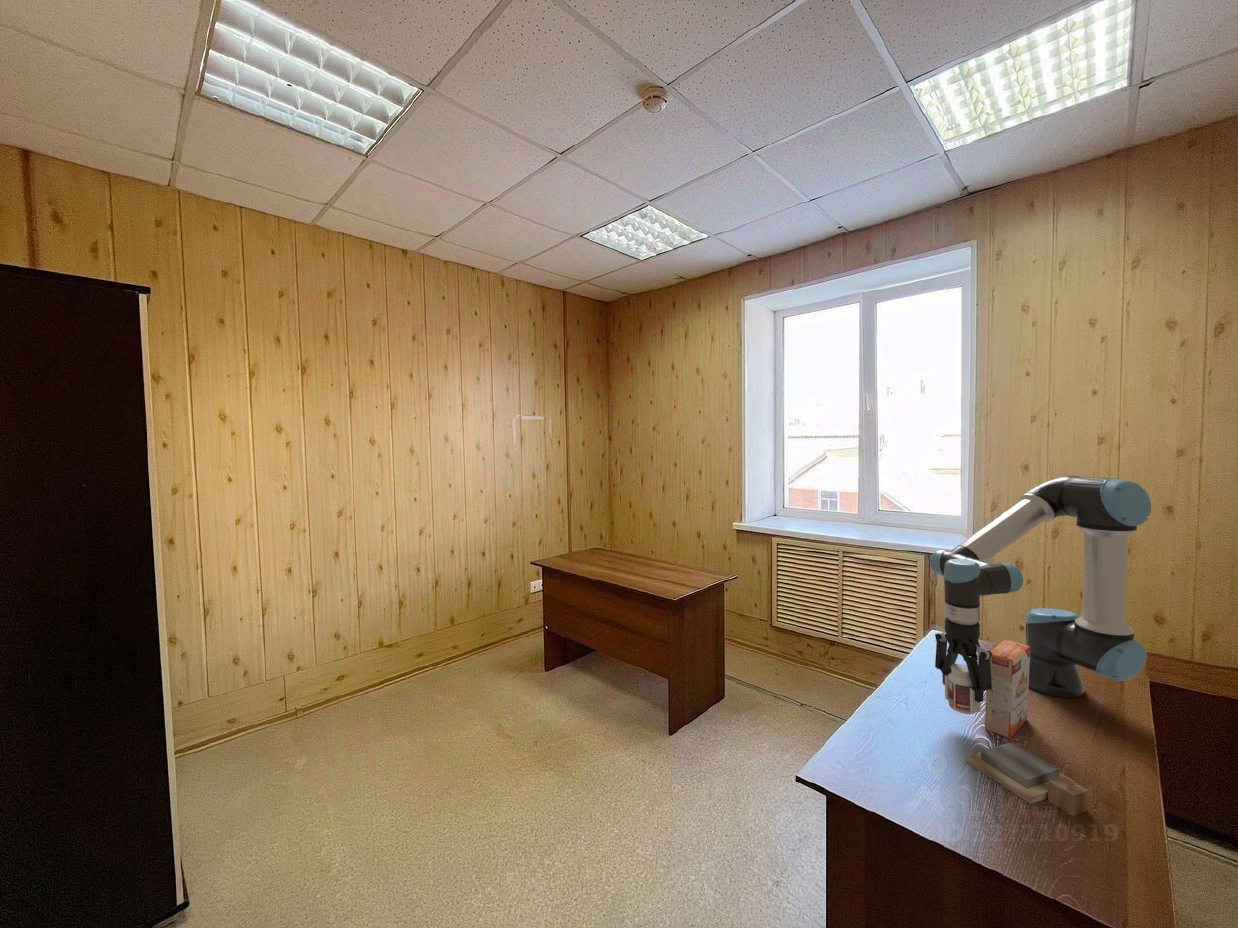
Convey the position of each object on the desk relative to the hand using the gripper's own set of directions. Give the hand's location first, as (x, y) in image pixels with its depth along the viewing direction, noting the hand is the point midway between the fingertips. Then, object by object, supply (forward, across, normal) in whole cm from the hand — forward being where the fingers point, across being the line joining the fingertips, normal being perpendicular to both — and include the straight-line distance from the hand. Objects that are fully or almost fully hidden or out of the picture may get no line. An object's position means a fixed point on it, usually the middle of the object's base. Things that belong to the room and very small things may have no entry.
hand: (962, 704), depth 129 cm
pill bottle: (+1, 0, 0) cm, 1 cm away
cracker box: (+7, +3, +12) cm, 14 cm away
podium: (+6, +17, -5) cm, 19 cm away
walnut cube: (+4, +24, -5) cm, 25 cm away
